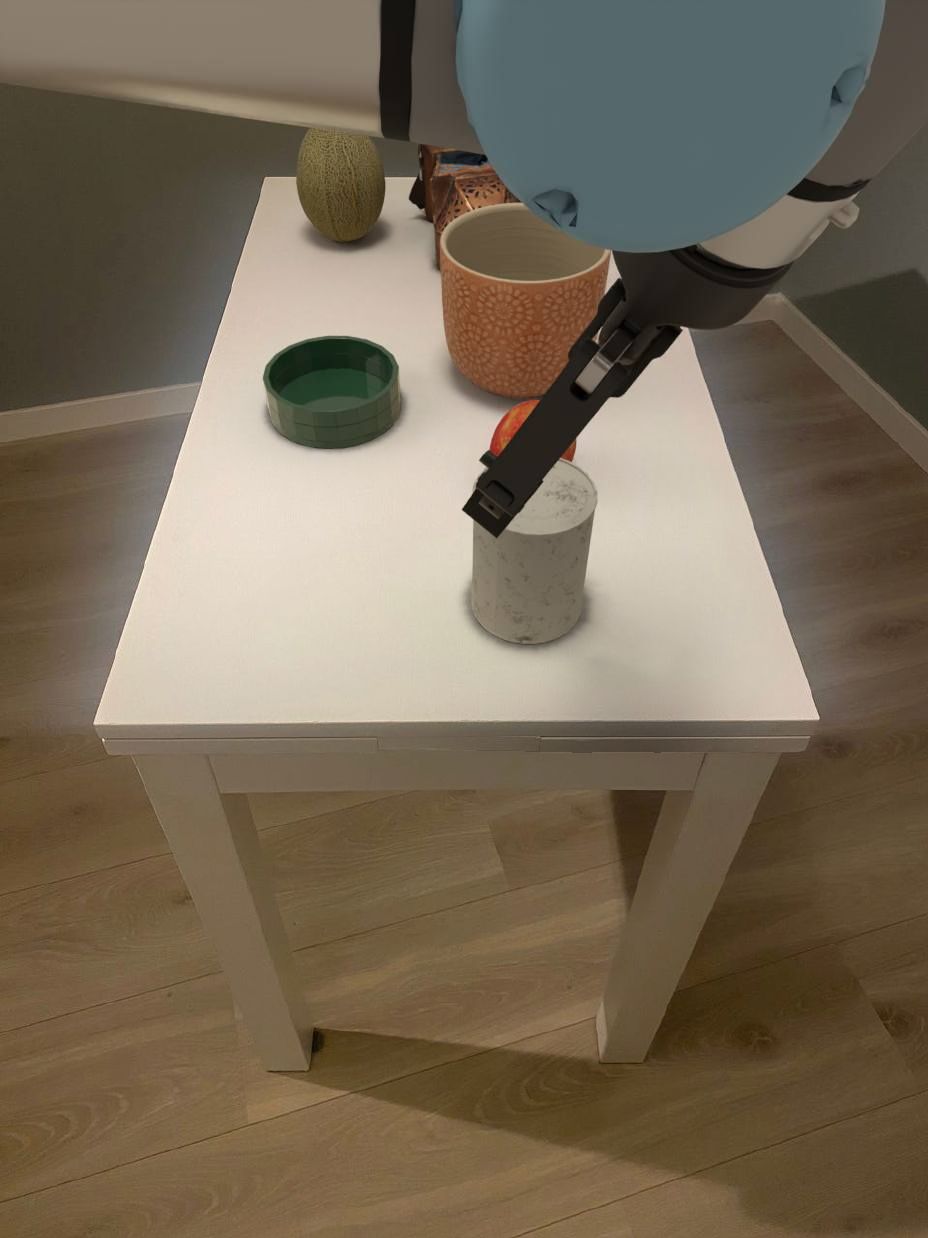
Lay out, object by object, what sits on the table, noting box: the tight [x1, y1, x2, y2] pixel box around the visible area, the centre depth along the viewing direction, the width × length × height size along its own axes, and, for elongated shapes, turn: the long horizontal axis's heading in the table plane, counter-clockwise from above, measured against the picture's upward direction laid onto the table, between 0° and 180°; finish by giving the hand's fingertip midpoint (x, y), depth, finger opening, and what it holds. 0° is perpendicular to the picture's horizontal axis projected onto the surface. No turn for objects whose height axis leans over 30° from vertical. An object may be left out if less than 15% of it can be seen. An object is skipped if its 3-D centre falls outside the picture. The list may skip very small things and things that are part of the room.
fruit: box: [295, 127, 387, 243], centre depth 120 cm, size 11×11×15 cm
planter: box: [440, 203, 612, 399], centre depth 98 cm, size 17×17×15 cm
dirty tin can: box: [470, 458, 598, 645], centre depth 76 cm, size 10×10×12 cm
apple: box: [489, 399, 577, 463], centre depth 89 cm, size 8×8×8 cm
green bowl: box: [262, 335, 401, 449], centre depth 98 cm, size 14×14×4 cm
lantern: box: [408, 143, 522, 270], centre depth 118 cm, size 16×16×25 cm
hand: (542, 447), depth 58 cm, fingers open, 13 cm apart
